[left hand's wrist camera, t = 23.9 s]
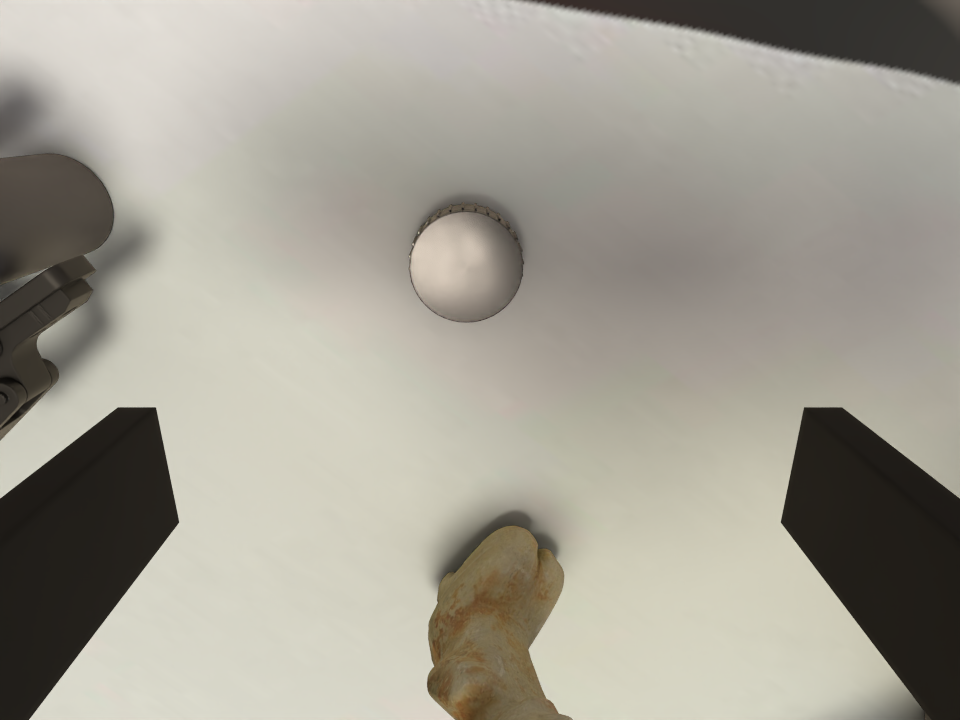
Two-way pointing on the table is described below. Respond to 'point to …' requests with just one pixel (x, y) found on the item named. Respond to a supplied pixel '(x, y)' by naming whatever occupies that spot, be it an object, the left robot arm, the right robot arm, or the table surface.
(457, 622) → the sculpture
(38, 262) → the gray cylindrical bottle
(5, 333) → the right robot arm
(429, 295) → the lid
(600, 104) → the table surface
